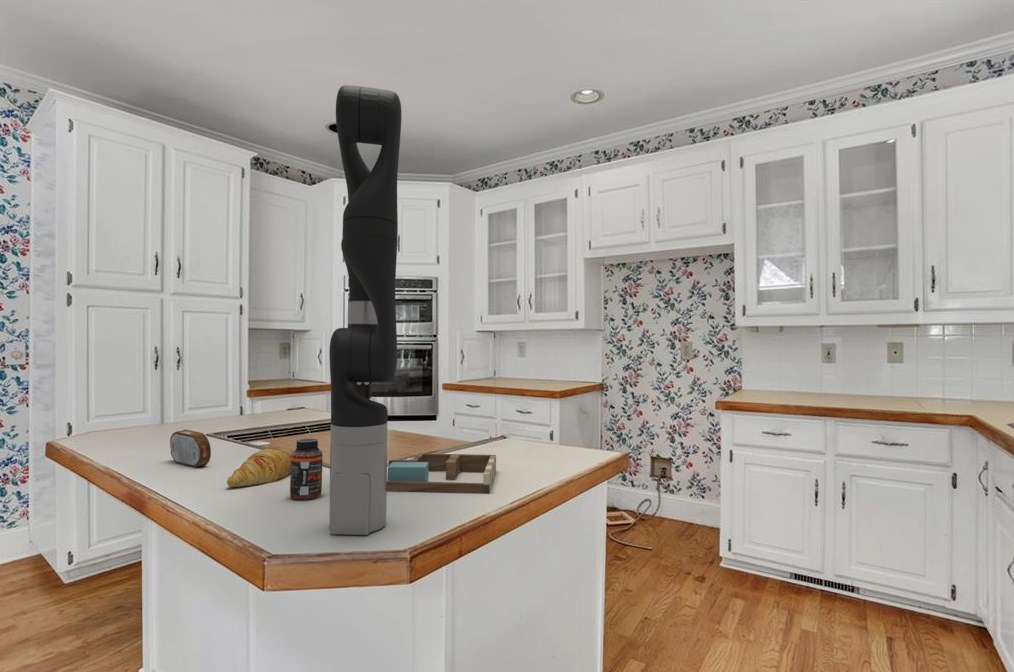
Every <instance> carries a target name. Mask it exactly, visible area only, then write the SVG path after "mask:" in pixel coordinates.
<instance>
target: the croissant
mask: <svg viewBox="0 0 1014 672" xmlns="http://www.w3.org/2000/svg"><path fill="white" fill-rule="evenodd" d="M290 474H291V454H288V453H286V452H285V451H282V450H281V449H280V448H271V447H270V448H264V449H263V450H262V449H261V450H259V451H256V452H255V453H253V454H251V455H250V456H249V457H248V458H247V459H246V460H244V461H243V462H242V464H241V465H240V467H239V468H237V469H235V470H234V471H233V473H232V474H231V476H228V478H227V481H226V485H228V486H229V487H231V488H233V487H234V488H240V487H249V486H257V484H258V485H263V484H268V483H267V482H269V483H272V481H273V482H274V481H275V482H276V481H278V480H281V478H282V479H284V478H286V477H287V476H288V475H290ZM277 479H278V480H277ZM262 483H263V484H262Z"/></svg>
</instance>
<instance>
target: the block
mask: <svg viewBox="0 0 1014 672" xmlns="http://www.w3.org/2000/svg"><path fill="white" fill-rule="evenodd" d="M428 467H429V462H392V463H391V464H390V465H389V464H388V465H387V481H413V482H429V471H428Z"/></svg>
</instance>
